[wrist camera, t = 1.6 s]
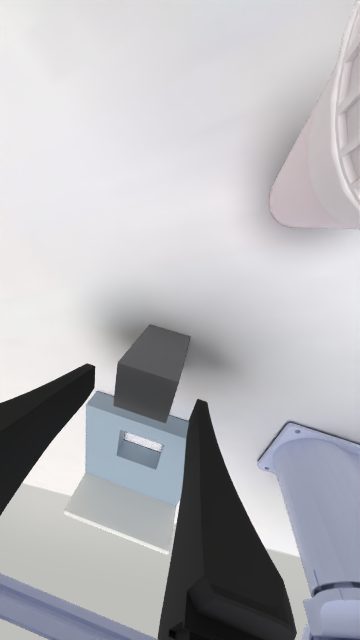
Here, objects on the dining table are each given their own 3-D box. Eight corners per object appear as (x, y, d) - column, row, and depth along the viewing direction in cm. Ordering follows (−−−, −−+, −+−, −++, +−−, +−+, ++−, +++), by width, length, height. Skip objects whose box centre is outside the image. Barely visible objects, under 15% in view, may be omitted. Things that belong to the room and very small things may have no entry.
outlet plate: (207, 428, 20) (205, 495, 14) (176, 492, 26) (167, 554, 21) (97, 391, 21) (56, 441, 15) (93, 461, 27) (64, 514, 22)
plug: (190, 336, 16) (178, 382, 10) (180, 371, 18) (165, 425, 12) (150, 324, 16) (117, 362, 11) (143, 359, 18) (113, 408, 12)
